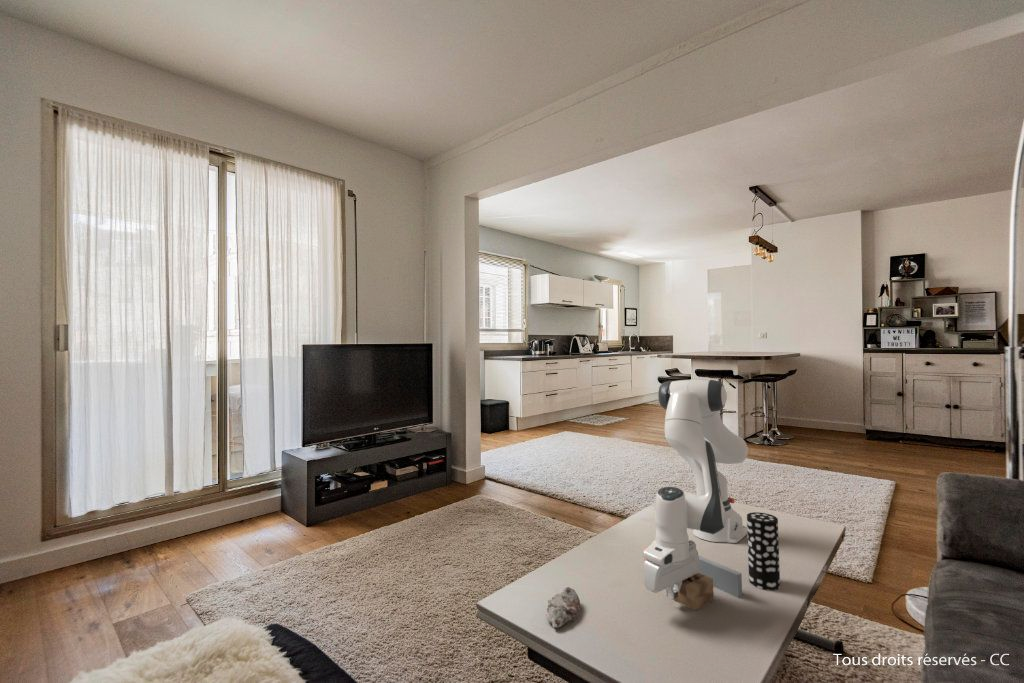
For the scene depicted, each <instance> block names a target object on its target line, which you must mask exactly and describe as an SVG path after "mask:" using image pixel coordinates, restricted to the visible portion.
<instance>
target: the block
mask: <svg viewBox="0 0 1024 683" xmlns="http://www.w3.org/2000/svg"><path fill="white" fill-rule="evenodd" d="M679 595H680V596H679V597H677V598H675V599H673V600H674V601H675V602H677V603H679V604H681V605H683V606H685V607H686V608H688V609H691V610H692V611H695V610H698V609H699V608H701V607H703V606H706V605H707V604H708V603H711V602H713V601H714V599H715V598H714V586H713V579H712V578H710V577H708V576H705V575H703V574H701V573H697V574H695V575H693V576H691V577H689V578H687V579H685V580H683V581H682V585H681V588H680V591H679ZM666 597H668V591H667V590H666Z"/></svg>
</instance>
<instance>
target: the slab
mask: <svg viewBox="0 0 1024 683" xmlns="http://www.w3.org/2000/svg"><path fill="white" fill-rule="evenodd" d="M699 562H700V570H699V573H701V574H703V575H705V576H708V577H710V578H712V579H713V588H716V589H717V590H720V591H722V592H724V593H727V594H729V595H731V596H734V597H736V598H737V599H739V598H741V597H743V579H742V577H743V576H742V572H740V571H737V570H735V569H732V568H729V567H728V566H725V565H722V564H720V563H718V562H715V561H713V560H710V559H708V558H706V557H702V556H701V555H699Z"/></svg>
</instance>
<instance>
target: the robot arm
mask: <svg viewBox="0 0 1024 683" xmlns="http://www.w3.org/2000/svg"><path fill="white" fill-rule="evenodd" d="M725 388H726V387H725V385H724V384H723V383H722V382H721V381H719V380H714V379H710V380H707V379H696V378H695V379H693V378H691V379H681V380H680V379H679V380H667V381H664V382H662V384H660V386H659V387H658V392H657V398H658V403H659V405H660V406H661V407H662V409H664V410H666V411H665V416H664V427H663V428H664V429H663V430H664V438H665V440H666V442H667V444H668V445H669V446H670V447H671V448H672V449H674V450H675V451H676V452H677V453H678V454H679V455H680V456H681V457H682V458H683V459H684V460H685V461H686V463H687V464H688V465H689V467H690V468H691V470H692V473H693V475H694V478H695V488H696V494H693V493H692V494H691V493H685V492H684V490H682V489H680V488H678V487H675V486H664V487H661V488H659V489H658V490H657V492H656V496H655V502H654V521H655V522H654V523H655V525H656V531H655V539H654V540H653V541H652V542H651V544H649V546H647V547H648V548H646V549H645V550H644V549H643V552H642V553H643V559H644V558H645V559H646V561H645V563H644V562H643V584H644V587H645V589H646V590H648V591H650V592H652V593H655V594H658V593H660V592H662V591H664V590H665V589H666V592H667V591H668V596H667V598H668V599H670V600H673V599H675V598H677V597H679V596H680V595H679V591H680V588H681V585H682V581H683V580H685V579H687V578H689V577H691V576H693V575H695V574H697V573H699V570H700V562H699V556H700V555H699V552H698V549H697V543H696V542H695V541H693V540H691V539H690V540H689V534H688V529H690V530H692V533H693V535H694V536H695V537H697V538H699V539H701V540H704V541H709V542H714V543H729V544H737V543H738V542H740V541H741V540H743V538H745V536H748V534H747V526H745V525H743V524H744V523H743V517H742V516H741V515H740V514H739V513H738V512H737V511H736V510H734V509H733V508H732V505H731V504H735V501H736V500H735V497H731V496H729V495H728V493H729V492H728V479H727V478H726V476H725V475H724V474H723V473H722V472H720V471H718V469H717V468H718V467H717V463H718V464H725V465H735V464H742V463H743V462H744V461H745V460H746V459H747V456H748V454H749V448H748V445H747V442H746V441H745V439H744V438H742V437H741V436H739V435H737V434H735V433H734V432H732V431H731V430H730V429H729V428H728V427H727V426H726V425H725V424H724V422H723V420H722V418H721V415H720V411H722V410H723V408H724V409H725V407H726V403H727V400H728V399H727V398H728V393H727V391H726V389H725Z"/></svg>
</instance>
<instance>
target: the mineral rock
mask: <svg viewBox="0 0 1024 683" xmlns="http://www.w3.org/2000/svg"><path fill="white" fill-rule="evenodd" d="M580 610H581V600H580V597H579V595H578V593H577V592H576V590H575V589H574V588H571V587H569V586H568V587H565V588H564V589H562V592H559V593H557V594H555V595H554V596H552V597H551V599H548V600H547V609H546V612H547V613H545V618H546V620H547V621H549V622H550V624H551V625H552V627H553V628H560V627H562V626H564V625H566V623H568V622H569V621H571V622H574V621H575V620H576V619H577V615H578V614H579V613H580Z"/></svg>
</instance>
